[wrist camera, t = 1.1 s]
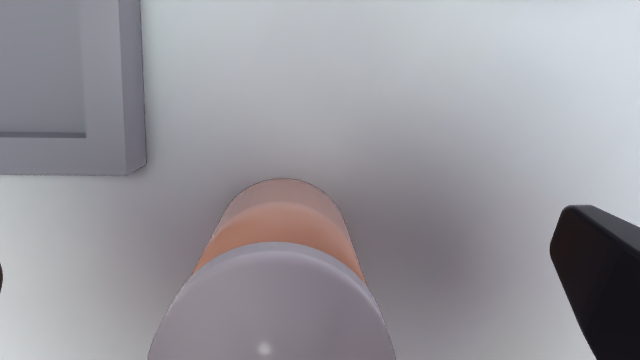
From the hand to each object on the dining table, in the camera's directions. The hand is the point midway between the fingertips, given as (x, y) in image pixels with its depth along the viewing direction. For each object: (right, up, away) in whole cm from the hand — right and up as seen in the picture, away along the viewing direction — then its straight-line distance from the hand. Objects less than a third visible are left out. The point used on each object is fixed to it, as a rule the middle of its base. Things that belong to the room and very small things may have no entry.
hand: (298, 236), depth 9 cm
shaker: (-1, -1, +13) cm, 13 cm away
